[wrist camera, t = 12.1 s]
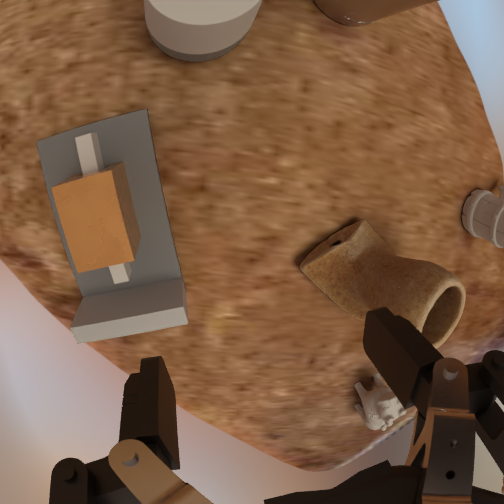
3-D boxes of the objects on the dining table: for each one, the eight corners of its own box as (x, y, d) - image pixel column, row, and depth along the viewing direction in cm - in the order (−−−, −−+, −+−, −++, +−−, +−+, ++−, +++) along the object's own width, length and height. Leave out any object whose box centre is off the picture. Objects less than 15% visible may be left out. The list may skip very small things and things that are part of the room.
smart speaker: (169, 81, 28) (162, 52, 15) (137, 9, 24) (113, -55, 11) (258, 47, 28) (309, 5, 15) (224, -23, 24) (254, -93, 11)
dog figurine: (380, 357, 49) (413, 399, 40) (378, 400, 55) (404, 439, 45) (352, 369, 49) (382, 415, 39) (354, 411, 54) (378, 452, 45)
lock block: (72, 175, 28) (51, 187, 23) (123, 161, 29) (111, 170, 23) (92, 248, 31) (77, 273, 26) (141, 236, 32) (134, 260, 27)
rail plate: (40, 141, 27) (9, 147, 20) (147, 109, 28) (138, 105, 22) (90, 307, 35) (77, 343, 29) (185, 288, 37) (188, 323, 30)
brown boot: (413, 264, 43) (483, 318, 29) (356, 322, 45) (412, 392, 31) (362, 190, 37) (449, 233, 23) (291, 260, 38) (350, 336, 25)
